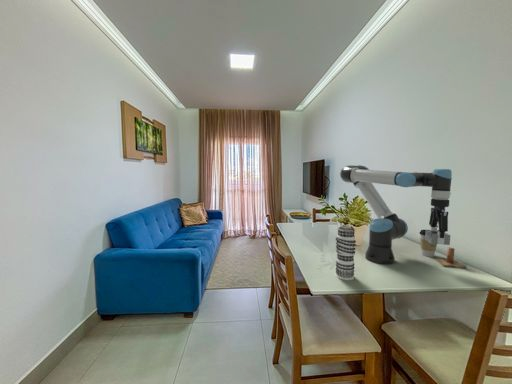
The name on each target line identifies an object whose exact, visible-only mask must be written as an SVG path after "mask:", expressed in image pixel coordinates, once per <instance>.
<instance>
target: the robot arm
mask: <svg viewBox="0 0 512 384" xmlns="http://www.w3.org/2000/svg"><path fill="white" fill-rule="evenodd" d="M339 174H340V175H339V176H340V178H341V179H342V181H343V182H345V183H349V184H351V183H352V184H353V186H354V187H355V188H356V189H359V191H360V192H361V194H362V195H363V197H364V198H365V200H366V201H367V203H368V205H369V207H370V208H371V210H372V211H373V212H374V214H375V216H376V217H377V218H373V219H371V220H370V222H369V234H368V236H369V238H368V240H369V242H368V247H367V249H366V252H365V254H364V255H365V259H366V260H367V261H369V262H372V263H376V264H382V265H391V264H394V263H395V255H394V251H393V248H392V244H393V240H396V239H401V238H403V237H405V236H406V234H407V233H408V231H409V228H408V227H409V226H408V224H407V222H406V221H405V220H404V219H402V218H399V216H398V215H397V213H395V212H392V211H391V209H390V208H389V206H388V205H387V203H386V202H385V200H384V199H383V197H382V196H381V195H380V193H379V192H378V190H377V189H376V187H375V185H374V184H378V185H379V184H381V185H389V186H390V185H391V186H398V187H401V188H410V187H428V188H430V187H431V194H430V197H431V199H430V206H432V207H431V208H430V216H429V220H428V221H429V223H428V224H429V226H430V230H431V231H438V237H437V245H444V238H445V233H446V232H448V230H449V228H448V227H449V225H448V224H449V221H448V220H449V211H446V208H448V207H449V206H450V197H451V194H452V192H451V186H452V179H453V178H452V170H451V169H449V168H435V169H433V170H432V172H417V171H415V172H409V171H408V172H406V171H405V172H404V171H392V170H391V171H388V170H377V169H376V170H375V169H374V170H373V169H369V167H367V166H364V165H360V164H359V165H349V164H348V165H346V166H344V167H342V169H341V170H340V173H339Z"/></svg>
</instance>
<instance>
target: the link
mask: <svg viewBox="0 0 512 384" xmlns="http://www.w3.org/2000/svg"><path fill="white" fill-rule="evenodd" d="M425 230H426V232H425V240H427V241H428V242H430V243H431V244H437V237H438V231H429V230H430V229H425ZM437 245H438V244H437ZM443 245H446V246H450V245H451V234H449V233H446V232H445V238H444V244H443Z"/></svg>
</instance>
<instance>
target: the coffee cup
mask: <svg viewBox="0 0 512 384" xmlns="http://www.w3.org/2000/svg"><path fill="white" fill-rule="evenodd" d="M426 230H427V229H420V231H419V232H418V234H419V241H420V242H419V244H420V251H421V255H422V256H423V257H429V258H434V256H435V254H436V249H437V245H438V244H431V243H430V242H428V241H427V240H425V232H426ZM428 230H429V231H431V229H428Z"/></svg>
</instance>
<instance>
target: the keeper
mask: <svg viewBox="0 0 512 384" xmlns="http://www.w3.org/2000/svg"><path fill="white" fill-rule="evenodd" d="M434 260H435V261H436V262H437V263H439V265H441V266H442V267H445V268H446V267H447V268H455V269H467V266H466V265H464V264H463V263H461V262H460V261H458V260H457V259H455V248H454V247H447V250H446V258H438V257H435V259H434Z"/></svg>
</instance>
